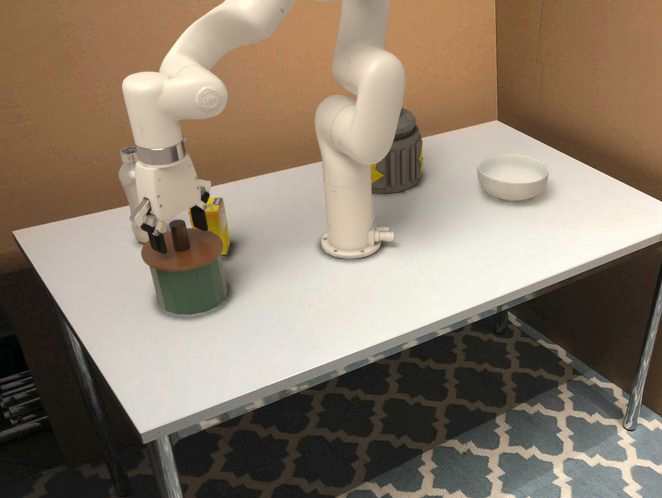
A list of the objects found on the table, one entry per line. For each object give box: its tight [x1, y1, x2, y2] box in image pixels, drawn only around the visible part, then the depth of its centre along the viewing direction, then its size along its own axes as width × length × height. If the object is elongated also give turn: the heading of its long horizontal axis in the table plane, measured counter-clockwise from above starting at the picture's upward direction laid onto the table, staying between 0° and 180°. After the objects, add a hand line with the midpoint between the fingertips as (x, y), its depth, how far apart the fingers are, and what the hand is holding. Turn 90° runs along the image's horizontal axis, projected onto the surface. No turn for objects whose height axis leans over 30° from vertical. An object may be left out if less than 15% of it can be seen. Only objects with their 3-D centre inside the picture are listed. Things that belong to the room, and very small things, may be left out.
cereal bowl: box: [476, 153, 550, 203], centre depth 183 cm, size 17×17×7 cm
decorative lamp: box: [371, 107, 424, 194], centre depth 180 cm, size 19×19×30 cm
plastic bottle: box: [117, 146, 167, 244], centre depth 156 cm, size 6×7×20 cm
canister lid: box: [140, 219, 223, 271], centre depth 138 cm, size 14×14×6 cm
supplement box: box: [187, 196, 232, 258], centre depth 156 cm, size 6×6×11 cm
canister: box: [148, 254, 229, 316], centre depth 143 cm, size 13×13×10 cm
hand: (181, 239), depth 138 cm, fingers open, 9 cm apart
